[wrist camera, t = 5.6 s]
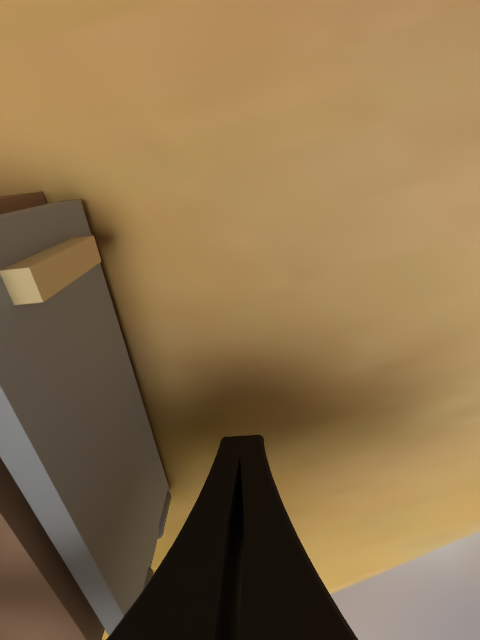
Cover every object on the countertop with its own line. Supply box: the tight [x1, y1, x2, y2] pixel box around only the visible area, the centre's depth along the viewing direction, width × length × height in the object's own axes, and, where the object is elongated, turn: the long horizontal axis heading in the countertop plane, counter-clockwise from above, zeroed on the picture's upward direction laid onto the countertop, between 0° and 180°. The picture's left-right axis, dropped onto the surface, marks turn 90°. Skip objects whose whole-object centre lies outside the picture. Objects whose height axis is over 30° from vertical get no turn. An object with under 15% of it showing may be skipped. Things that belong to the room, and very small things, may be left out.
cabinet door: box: [0, 199, 171, 636], centre depth 10 cm, size 2×13×5 cm, turn 6°
